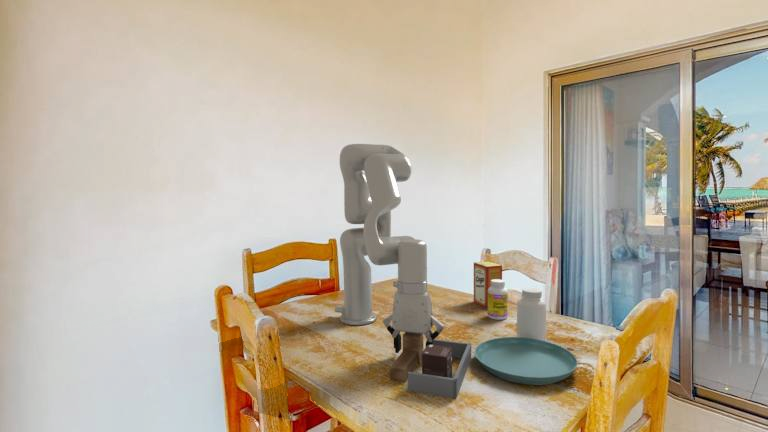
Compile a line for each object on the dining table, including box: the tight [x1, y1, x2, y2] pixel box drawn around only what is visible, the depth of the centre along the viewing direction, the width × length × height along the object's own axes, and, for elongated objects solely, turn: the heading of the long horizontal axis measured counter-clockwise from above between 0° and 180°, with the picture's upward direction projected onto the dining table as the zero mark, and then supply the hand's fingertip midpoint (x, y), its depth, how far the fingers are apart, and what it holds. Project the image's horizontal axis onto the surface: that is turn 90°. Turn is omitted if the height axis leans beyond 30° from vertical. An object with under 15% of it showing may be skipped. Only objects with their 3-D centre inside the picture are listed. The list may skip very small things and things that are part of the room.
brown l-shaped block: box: [389, 332, 424, 384], centre depth 100 cm, size 4×15×7 cm, turn 159°
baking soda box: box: [473, 261, 503, 309], centre depth 154 cm, size 10×6×16 cm
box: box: [421, 345, 453, 378], centre depth 94 cm, size 6×6×7 cm
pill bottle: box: [516, 287, 547, 342], centre depth 117 cm, size 8×8×15 cm
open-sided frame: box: [407, 338, 472, 400], centre depth 97 cm, size 11×22×4 cm, turn 159°
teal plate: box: [474, 336, 579, 386], centre depth 101 cm, size 24×24×3 cm
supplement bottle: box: [487, 279, 509, 321], centre depth 138 cm, size 7×7×13 cm
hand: (413, 352), depth 106 cm, fingers open, 7 cm apart
